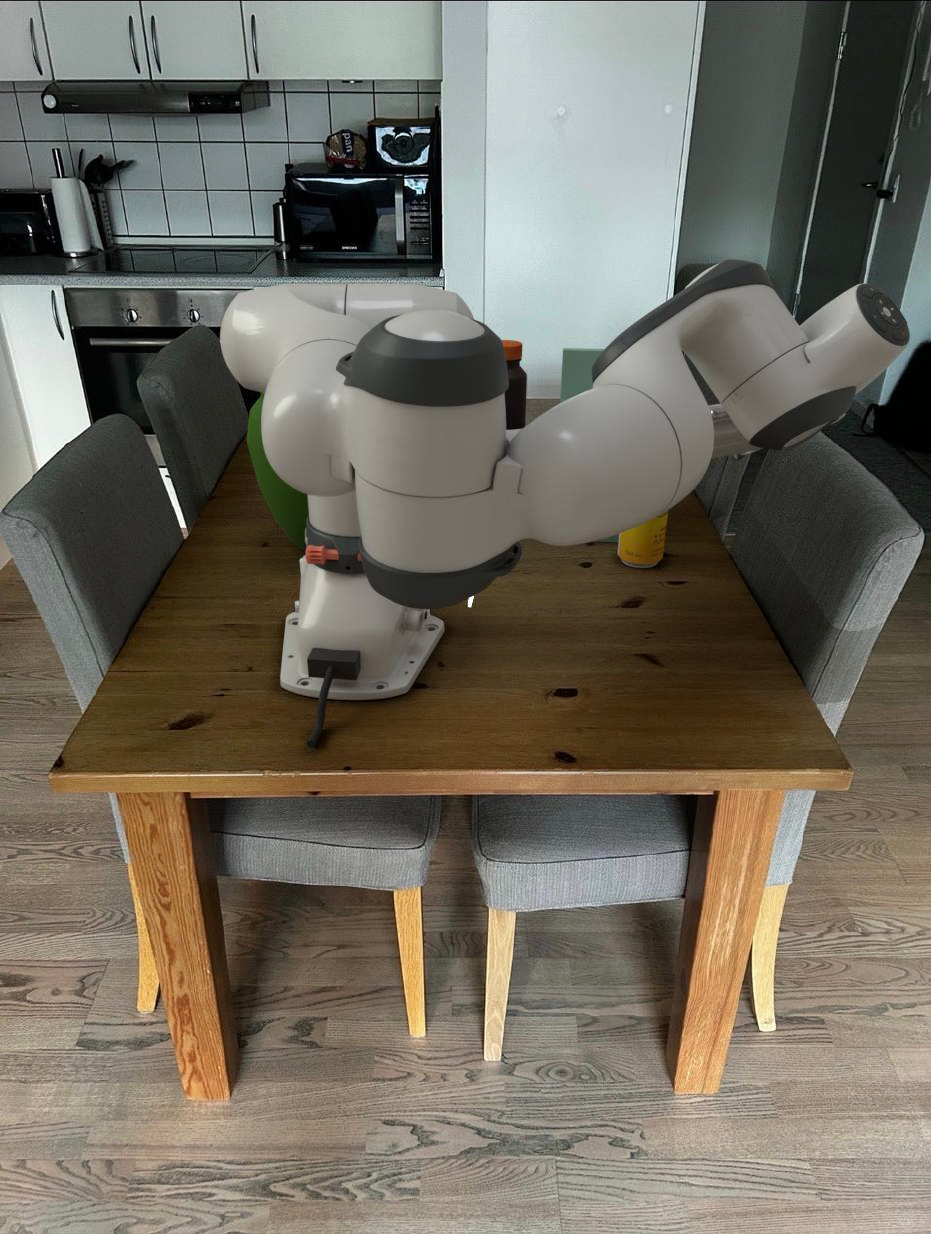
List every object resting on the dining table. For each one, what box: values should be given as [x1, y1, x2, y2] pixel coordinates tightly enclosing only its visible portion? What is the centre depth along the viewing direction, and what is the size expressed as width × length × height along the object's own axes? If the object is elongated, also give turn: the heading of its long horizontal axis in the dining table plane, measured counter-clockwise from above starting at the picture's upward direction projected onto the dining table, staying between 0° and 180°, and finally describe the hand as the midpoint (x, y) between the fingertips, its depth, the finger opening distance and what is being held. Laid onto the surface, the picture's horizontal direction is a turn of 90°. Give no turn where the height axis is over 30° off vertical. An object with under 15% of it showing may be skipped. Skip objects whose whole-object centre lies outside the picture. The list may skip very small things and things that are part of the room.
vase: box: [246, 392, 309, 553], centre depth 127 cm, size 20×20×24 cm
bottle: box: [501, 339, 528, 430], centre depth 159 cm, size 7×7×20 cm
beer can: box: [617, 510, 669, 569], centre depth 126 cm, size 6×6×15 cm
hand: (704, 461), depth 114 cm, fingers open, 8 cm apart
